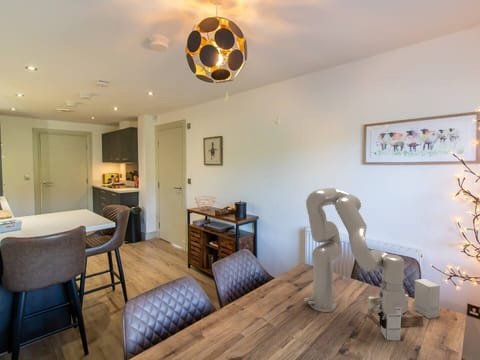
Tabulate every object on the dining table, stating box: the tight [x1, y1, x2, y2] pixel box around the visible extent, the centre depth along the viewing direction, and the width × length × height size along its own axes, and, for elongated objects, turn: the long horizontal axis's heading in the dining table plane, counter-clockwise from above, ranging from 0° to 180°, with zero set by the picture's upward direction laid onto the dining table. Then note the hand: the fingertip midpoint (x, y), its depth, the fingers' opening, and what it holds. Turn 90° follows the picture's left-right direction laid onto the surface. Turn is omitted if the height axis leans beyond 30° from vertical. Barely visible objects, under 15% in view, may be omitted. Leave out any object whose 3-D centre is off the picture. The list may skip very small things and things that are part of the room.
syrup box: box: [379, 307, 402, 341], centre depth 111 cm, size 6×6×14 cm
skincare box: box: [413, 278, 441, 319], centre depth 128 cm, size 8×7×16 cm
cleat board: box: [367, 293, 424, 328], centre depth 123 cm, size 20×11×9 cm, turn 98°
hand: (390, 325), depth 111 cm, fingers closed on syrup box, 6 cm apart
